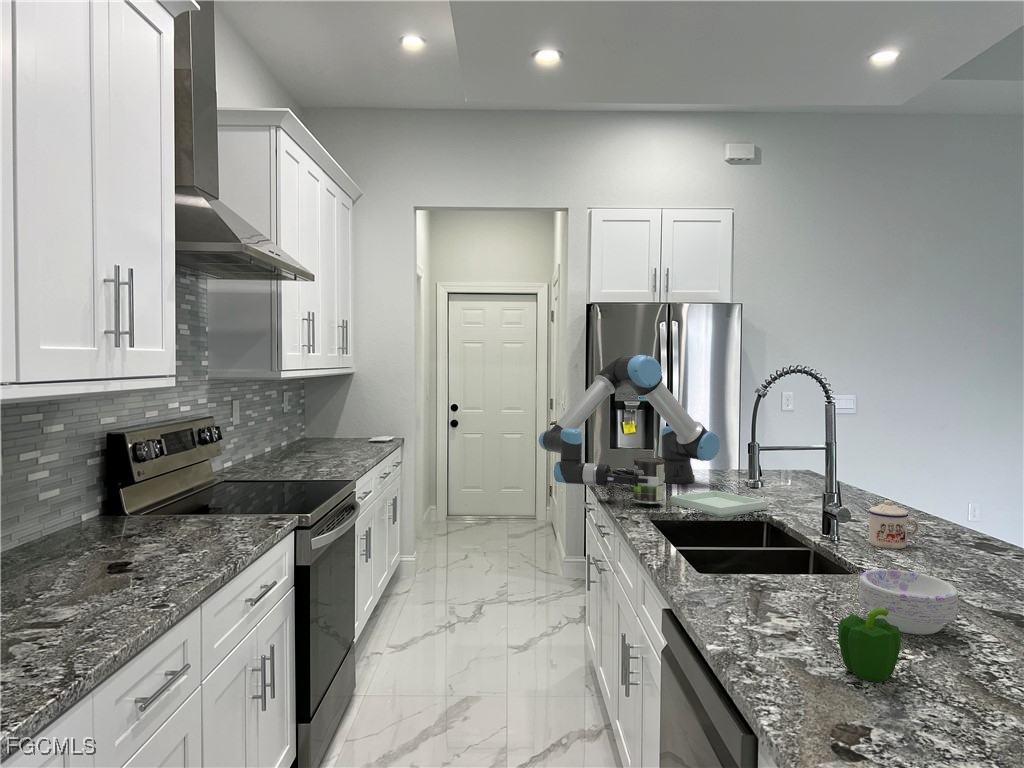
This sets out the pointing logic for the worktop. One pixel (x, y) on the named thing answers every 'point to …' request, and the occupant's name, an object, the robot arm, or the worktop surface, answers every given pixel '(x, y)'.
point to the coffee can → (650, 469)
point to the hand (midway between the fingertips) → (661, 478)
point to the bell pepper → (869, 645)
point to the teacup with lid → (889, 526)
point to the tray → (719, 503)
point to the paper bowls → (909, 599)
